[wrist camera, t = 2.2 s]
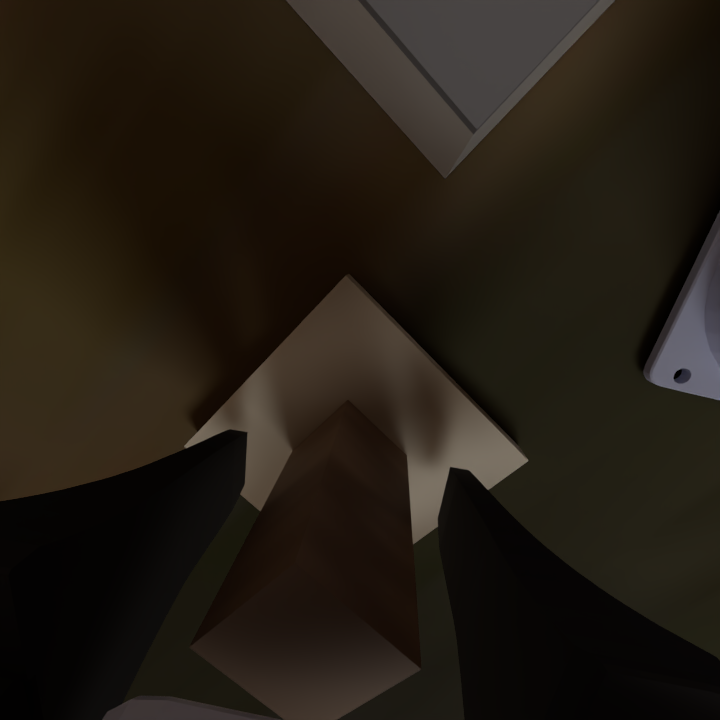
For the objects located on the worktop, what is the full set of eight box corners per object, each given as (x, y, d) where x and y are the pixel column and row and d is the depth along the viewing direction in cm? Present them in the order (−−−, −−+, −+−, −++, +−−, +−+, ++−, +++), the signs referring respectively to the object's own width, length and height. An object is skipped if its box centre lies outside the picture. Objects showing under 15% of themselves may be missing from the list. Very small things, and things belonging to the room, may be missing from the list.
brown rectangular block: (406, 455, 13) (421, 668, 6) (349, 502, 14) (307, 737, 7) (348, 399, 13) (295, 563, 6) (292, 450, 13) (189, 647, 7)
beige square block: (518, 446, 13) (528, 460, 13) (353, 568, 16) (351, 588, 15) (349, 274, 12) (345, 275, 11) (198, 434, 15) (184, 446, 14)
